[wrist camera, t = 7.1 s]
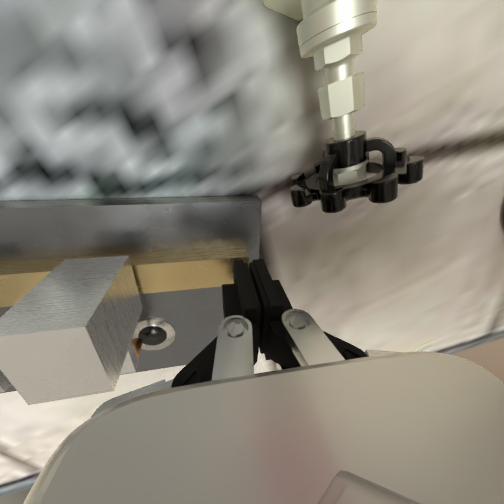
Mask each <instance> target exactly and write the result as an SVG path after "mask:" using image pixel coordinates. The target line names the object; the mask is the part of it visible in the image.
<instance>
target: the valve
mask: <svg viewBox="0 0 504 504" xmlns="http://www.w3.org/2000/svg"><path fill="white" fill-rule="evenodd" d="M263 3H264V6H265V7H266V8H268V9H271V10H273V11H276V12H278V13H280V14H283V15H285V16H288V17H290V18H293V19H295V20H298V21H300V20H301V19H302V18H303V20H302V21H301V22H300V24H299V25H298V26H297V37H298V44H299V50H300V56H301V58H309V57H313V56H314V64H315V70H318V71H320V70H322V71H324V73H325V81H326V86H324V87H321V88H319V89H318V95H319V103H320V111H321V119H324V120H328V119H332V128H333V138H331V139H329V140H327V141H326V142H325V143H324V148H325V150H324V153H323V161H322V162H319V163H316V164H315V165H314V167H315V174H314V175H313V176H311V177H310V178H309V179H305V176H304V173H299V174H296V175H294V176H292V177H291V181H292V187H291V188H290V195H291V199H292V204H293V206H294V207H304V206H307V205H309V204H311V203H312V202H313V201H316V200H320V201H321V207H322V211H323V212H325V213H336V212H339V211H342V210H343V209H345V207H346V201H348V200H352V199H356V198H362V197H368V198H369V200H370V201H371V202H373V203H387V202H390V201H393V200H395V199H396V198H397V196H398V184H412V183H416V182H418V181H420V180H421V179H422V178H423V167H424V157H422V156H410V157H409V161H408V163H407V166H406V148H394V147H393V145H392V144H391V143H390V142H389V141H388V140H386V139H384V138H379V137H373V138H368V139H367V134H366V132H365V131H355V125H354V112H355V111H357V110H359V109H361V108H362V107H363V106H364V82H363V72H362V73H359V74H356V75H353V59H354V58H355V56H357V55H359V53H360V52H361V51H362V35H363V34H365V33H366V32H368V31H369V30H371V29H372V28H373V27H375V25H376V23H377V1H376V0H263ZM374 150H378V151H381V152H382V159H369V151H374ZM366 173H376V174H377V175H375V176H373V177H371V178H368V179H366V180H365V178H366Z"/></svg>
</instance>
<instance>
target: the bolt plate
mask: <svg viewBox="0 0 504 504" xmlns="http://www.w3.org/2000/svg"><path fill="white" fill-rule="evenodd" d="M261 204H262V201H261V200H260V199H259V198H258V197H257V195H252V196H207V197H161V198H116V199H71V200H25V201H0V317H1V316H3V315H4V314H5V313H6V312H7V311H8V310H9V309H10V308H11V307H12V306H14V305H15V304H16V303H17V302H18V301H19V300H20V299H21V298H22V297H24V296H25V295H26V294H27V293H28V292H29V291H30V290H31V289H32V288H33V287H35V286H36V285H37V284H38V283H39V282H40V281H41V280H42V279H43V278H45V277H46V276H47V275H48V274H49V273H50V272H51V271H52V270H53V269H54V268H56V267H57V266H58V265H59V264H60V263H61V262H62V261H63V260H65V259H80V258H95V257H111V256H126V255H129V258H130V262H131V265H132V269H133V273H134V276H135V280H136V284H137V288H138V291H139V295H140V299H141V303H142V306H143V309H142V311H141V314H140V317H139V320H138V323H137V326H136V329H135V332H134V334H133V337H132V339H134V338H140V339H142V341H143V343H142V347H141V350H140V354H139V357H138V359H139V362H138V366H137V369H136V372H141V371H148V370H154V369H161V368H167V367H174V366H180V365H187V364H188V363H189V362H190V361H191V360H193V359H194V358H195V357H196V356H197V355H198V354H199V353H200V352H201V351H202V350H203V349H204V348H205V347H206V346H207V345H208V344H209V343H211V342H212V341H213V340H214V339H215V338H216V337H217V336H218V329H219V325H220V323H221V322H222V320H223V319H224V313H223V300H222V284H234V277H233V261H240V260H243V261H244V263H247V264H248V267H249V263H250V262H253V260H255V259H259V248H260V226H261ZM132 373H135V372H132ZM126 374H128V373H126ZM120 375H122V374H120ZM11 391H17V390H16V389H15V387H14V386H13V385H12V384H11V382H10V381H9V380H8V379H7V377H6V376H5V375H4V374H3V372H2V371H1V370H0V393H5V392H11Z"/></svg>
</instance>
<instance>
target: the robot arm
mask: <svg viewBox="0 0 504 504" xmlns="http://www.w3.org/2000/svg"><path fill="white" fill-rule="evenodd" d="M233 277H234V284H222V300H223V313H224V319H223V320H222V322H221V323H220V325H219V329H218V336H217V337H216V338H215V339H214V340H213V341H212V342H211V343H209V344H208V345H207V346H206V347H205V348H204V349H203V350H202V351H201V352H200V353H199V354H198V355H197V356H196V357H195V358H194V359H193V360H191V361H190V362H189V363H188V364H187V365H186V366H185V367H184V368H183V369H182V370H181V371H180V372H179V373H178V374H177V375H176V376H175V378H174V379H173V380H170V381H167V382H165V380H162V381H159V382H156V383H154V384H151V385H148V386H145V387H143V388H140V389H137V390H134V391H132V392H129V393H126V394H123V395H120V396H118V397H115V398H112V399H110V400H108V401H106V402H104V403H103V404H102V405H101V406H100V407H99V408H97V410H96V411H95V412H94V414H93V415H92V417H91V418H90V419H89V420H87V421H86V422H84V423H83V424H82V425H80V426H79V427H78V428H76V429H75V430H74V431H73V432H72V433H71V434H69V435H68V436H67V437H66V438H65V440H64V441H63V442H62V443H61V444H60V445H59V446H58V448H57V449H56V450H55V452H54V453H53V455H52V456H51V457H50V459H49V460H48V462H47V463H46V465H45V467H44V468H43V470H42V471H41V473H40V475H39V476H38V478H37V480H36V481H35V483H34V485H33V487H32V488H31V490H30V492H29V494H28V496H27V498H26V499H25V501H24V503H23V504H504V383H503V382H502V381H501V380H499V379H498V378H497V377H495V376H494V375H493V374H491V373H490V372H488V371H487V370H485V369H484V368H482V367H481V366H479V365H477V364H476V363H473V362H471V361H469V360H466V359H463V358H460V357H457V356H453V355H448V354H443V353H436V352H391V351H377V350H366V351H365V352H363V351H362V350H361V349H359V348H357V347H356V346H353V345H351V344H349V343H347V342H345V341H343V340H341V339H339V338H337V337H334V336H332V335H330V334H328V333H326V332H324V331H322V330H321V328H320V327H319V326H318V325H317V323H316V322H315V321H314V319H313V318H312V317H311V316H310V315H309V314H308V313H306V312H305V311H302V310H299V309H293V308H292V306H291V304H290V302H289V300H288V298H287V296H286V294H285V292H284V290H283V288H282V286H281V284H280V282H279V280H272V279H271V276H270V274H269V272H268V270H267V267H266V265H265V263H264V261H263V259H255V260H253V262H250V263H249V267H248V264H247V263H244V261H243V260H240V261H233ZM259 348H260V352H261V354H262V353H264V354H265V357H266V360H270V359H271V360H273V361H274V362H276V367H277V371H270V372H264V373H257V374H254V365H255V363H256V362H257V356H258V349H259Z"/></svg>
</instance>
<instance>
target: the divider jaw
mask: <svg viewBox="0 0 504 504" xmlns="http://www.w3.org/2000/svg"><path fill="white" fill-rule="evenodd" d="M142 309H143V306H142V303H141V299H140V295H139V291H138V288H137V284H136V280H135V276H134V273H133V269H132V265H131V262H130V258H129V255H126V256H111V257H95V258H80V259H65V260H63V261H62V262H61V263H60V264H59V265H58V266H57V267H56V268H54V269H53V270H52V271H51V272H50V273H49V274H48V275H47V276H46V277H45V278H43V279H42V280H41V281H40V282H39V283H38V284H37V285H36V286H35V287H33V288H32V289H31V290H30V291H29V292H28V293H27V294H26V295H25V296H24V297H22V298H21V299H20V300H19V301H18V302H17V303H16V304H15V305H14V306H12V307H11V308H10V309H9V310H8V311H7V312H6V313H5V314H4V315H3V316H1V317H0V370H1V371H2V372H3V374H4V375H5V376H6V377H7V379H8V380H9V381H10V382H11V384H12V385H13V386H14V387H15V389H16V390H17V391H18V392H19V394H20V395H21V396H22V398H23V399H24V400H25V401H26V403H27V404H28V405H31V404H37V403H43V402H49V401H55V400H62V399H68V398H74V397H80V396H86V395H92V394H98V393H104V392H110V391H114V389H115V386H116V383H117V380H118V378H119V375H120V374H126V373H132V372H136V369H137V366H138V362H139V359H138V357H139V354H140V350H141V347H142V343H143V341H142V339H140V338H134V339H132V337H133V334H134V332H135V329H136V326H137V323H138V320H139V317H140V314H141V311H142Z"/></svg>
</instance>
